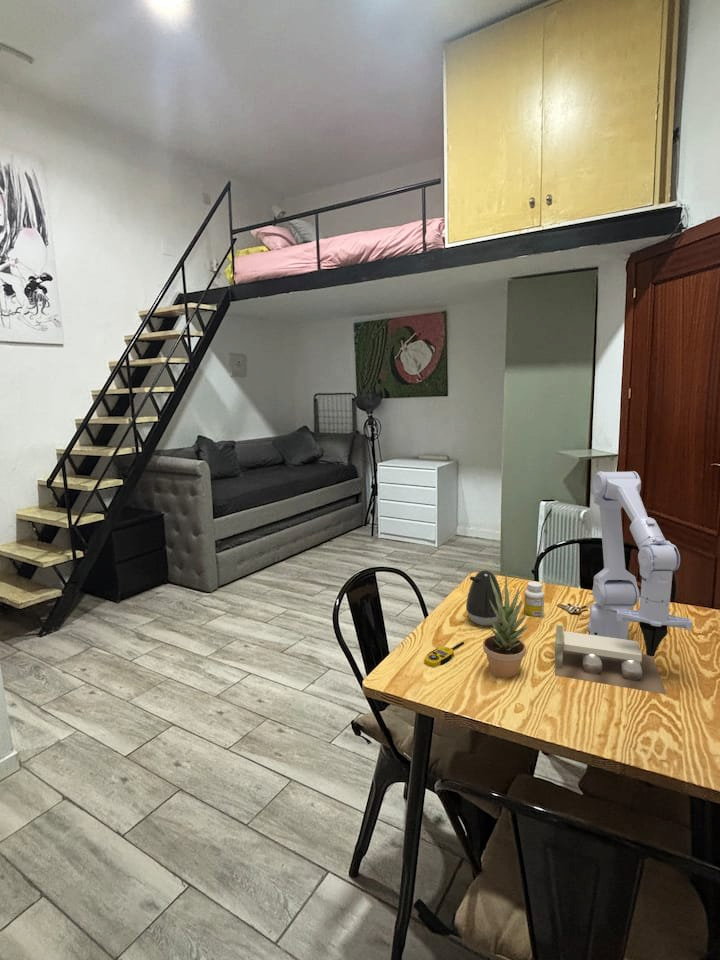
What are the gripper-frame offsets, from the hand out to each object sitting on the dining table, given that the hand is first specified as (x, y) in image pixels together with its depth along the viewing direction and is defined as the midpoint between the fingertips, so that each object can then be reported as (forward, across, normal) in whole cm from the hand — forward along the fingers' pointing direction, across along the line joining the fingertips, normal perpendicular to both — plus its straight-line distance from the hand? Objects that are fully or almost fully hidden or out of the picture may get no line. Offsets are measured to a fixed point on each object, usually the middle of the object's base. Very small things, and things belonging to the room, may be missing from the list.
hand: (650, 653), depth 116 cm
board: (+5, -9, 0) cm, 10 cm away
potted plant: (+6, -31, -10) cm, 33 cm away
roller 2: (+3, -2, 0) cm, 4 cm away
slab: (0, -10, 0) cm, 10 cm away
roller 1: (+3, -10, 0) cm, 11 cm away
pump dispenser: (+6, -39, +16) cm, 42 cm away
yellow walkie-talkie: (+6, -45, -5) cm, 46 cm away
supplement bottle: (+6, -26, +25) cm, 36 cm away
